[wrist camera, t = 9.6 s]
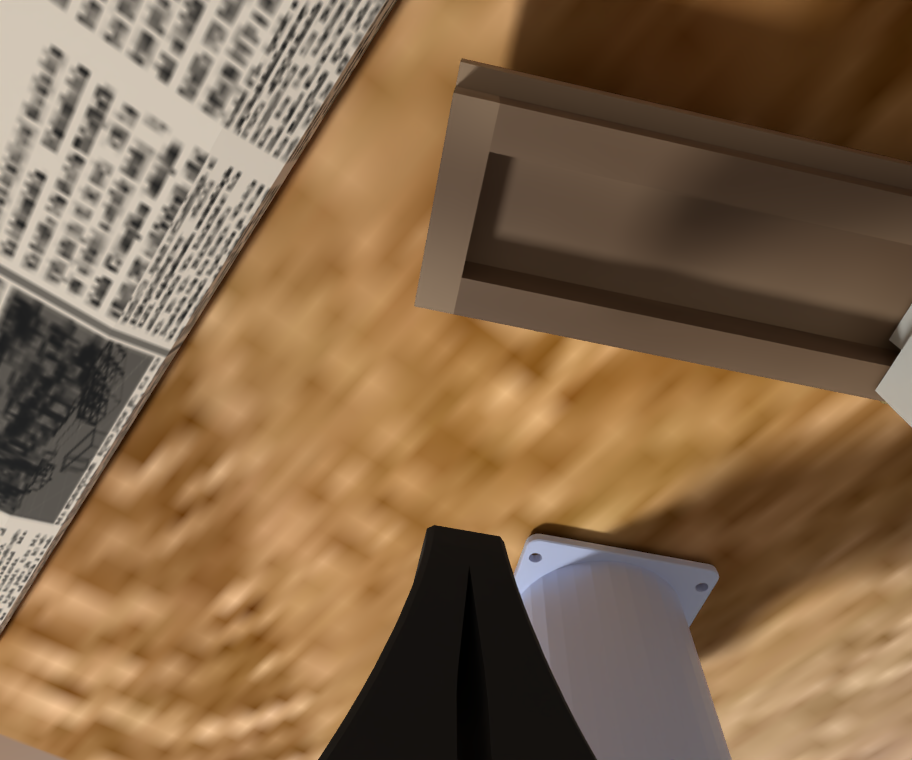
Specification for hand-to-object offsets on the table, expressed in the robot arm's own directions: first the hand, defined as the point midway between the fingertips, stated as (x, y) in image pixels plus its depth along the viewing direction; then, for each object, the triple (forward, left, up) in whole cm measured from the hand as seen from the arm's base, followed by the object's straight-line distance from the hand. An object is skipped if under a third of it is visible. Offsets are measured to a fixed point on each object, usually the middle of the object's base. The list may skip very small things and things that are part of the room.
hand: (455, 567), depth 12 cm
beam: (+5, -12, -10) cm, 17 cm away
